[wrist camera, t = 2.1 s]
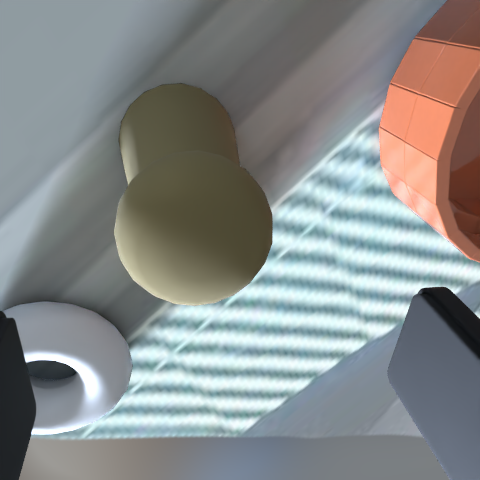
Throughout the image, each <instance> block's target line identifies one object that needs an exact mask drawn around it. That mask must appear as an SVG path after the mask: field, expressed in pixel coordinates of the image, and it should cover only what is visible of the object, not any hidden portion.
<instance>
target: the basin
mask: <svg viewBox="0 0 480 480" xmlns="http://www.w3.org/2000/svg"><path fill="white" fill-rule="evenodd" d="M379 139H380V159H381V166H382V169H383V171H384V173H385V176H386V178H387V180H388V183H389V185H390V187H391V190H392V192H393V194H394V195H395V196H396V197H397V198H398V199H399V200H400V201H402V202H403V203H404V204H405V205H406V206H407V207H408V208H409V209H410V210H411V211H412V212H413V213H415V214H416V215H417V216H418V217H419V218H421V219H422V220H423V221H424V222H425V223H427V224H428V225H429V226H430V227H431V228H433V229H434V230H435V231H436V232H438V233H439V234H440V235H441V236H442V237H443V238H445V239H446V240H447V241H448V242H449V243H451V244H452V245H453V246H454V247H455V248H457V249H458V250H459V251H460V252H461V253H463V254H464V255H465V256H466V257H467V258H469V259H471V260H474V261H478V262H480V0H447V1H446V2H445V3H444V4H443V6H442V7H441V8H440V9H439V10H438V11H437V12H436V13H435V15H434V16H433V17H432V18H431V19H430V20H429V21H428V22H427V24H426V25H425V26H424V27H423V28H422V29H421V30H420V31H419V33H418V34H417V35H416V36H415V38H414V39H413V40H412V42H411V44H410V46H409V48H408V50H407V52H406V53H405V55H404V57H403V59H402V61H401V63H400V65H399V67H398V68H397V70H396V72H395V74H394V76H393V78H392V80H391V84H390V85H389V89H388V93H387V97H386V101H385V105H384V109H383V113H382V117H381V121H380V127H379Z"/></svg>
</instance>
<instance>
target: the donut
mask: <svg viewBox="0 0 480 480" xmlns="http://www.w3.org/2000/svg"><path fill="white" fill-rule="evenodd" d="M2 312H4V313H5V315H6V318H14V319H15V322H16V325H17V329H18V333H19V337H20V341H21V345H22V349H23V353H24V357H25V361H26V363H29V362H31V361H37V360H53V361H58V362H61V363H65V364H67V365H69V366H71V367H72V368H74V369H75V370H76V372H77V373H76V374H75V375H73V376H71V377H68V378H65V379H59V380H50V379H42V378H38V377H34V376H32V375H30V374H29V377H30V381H31V385H32V389H33V393H34V397H35V401H36V418H35V422H34V426H33V430H32V433H31V434H55V433H61V432H66V431H72V430H75V429H78V428H80V427H83V426H85V425H88V424H90V423H93V422H95V421H97V420H98V419H100V418H101V417H102V416H104V415H105V414H106V413H108V412H109V411H111V410H112V409H113V408H114V407H115V405H116V404H117V403H118V401H119V400H120V399H121V397H122V396H123V395H124V393H125V392H126V390H127V389H128V385H129V381H130V376H131V372H132V367H133V365H132V359H131V355H130V351H129V347H128V343H127V342H126V340H125V339H124V338H123V336H122V335H121V334H120V332H119V331H118V330H117V328H116V327H115V326H114V325H113V324H112V323H111V322H109V321H108V320H106V319H105V318H103V317H102V316H100V315H99V314H97V313H96V312H94V311H91V310H88V309H85V308H82V307H79V306H76V305H73V304H68V303H58V302H47V301H43V302H36V303H28V304H21V305H17V306H14V307H12V308H9V309H7V310H5V311H2Z"/></svg>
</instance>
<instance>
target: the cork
mask: <svg viewBox="0 0 480 480" xmlns="http://www.w3.org/2000/svg"><path fill="white" fill-rule="evenodd" d="M119 145H120V151H121V156H122V161H123V165H124V169H125V174H126V178H127V182H128V187H127V189H126V190H125V192H124V194H123V195H122V197H121V199H120V201H119V204H118V210H117V216H116V222H115V229H114V235H115V240H116V244H117V249H118V254H119V257H120V259H121V262H122V264H123V265H124V267H125V268H126V270H127V271H128V273H129V274H130V276H131V277H132V279H133V280H134V281H135V282H136V283H138V284H139V285H140V286H142V287H143V288H144V289H145V290H147V291H148V292H149V293H151V294H152V295H154V296H155V297H158V298H161V299H163V300H166V301H168V302H171V303H174V304H182V305H192V306H196V305H203V304H210V303H216V302H218V301H220V300H223V299H225V298H228V297H230V296H233V295H234V294H236V293H237V292H239V291H240V290H241V289H243V288H244V287H245V286H247V285H248V284H249V283H250V282H251V281H252V279H253V278H254V277H255V276H256V274H257V273H258V272H259V270H260V269H261V268H262V266H263V265H264V263H265V262H266V259H267V256H268V253H269V251H270V248H271V245H272V212H271V210H270V207H269V204H268V201H267V198H266V196H265V193H264V192H263V190H262V188H261V187H260V186H259V184H258V183H257V182H256V181H255V180H254V178H253V177H252V176H251V175H250V174H249V172H248V171H247V170H246V169H244V168H243V167H241V166H240V162H239V156H238V150H237V143H236V137H235V131H234V128H233V125H232V122H231V120H230V117H229V114H228V113H227V111H226V110H225V109H224V107H223V106H222V105H221V104H220V102H219V101H218V100H217V99H216V98H215V97H213V96H212V95H210V94H208V93H207V92H205V91H204V90H202V89H201V88H197V87H194V86H190V85H186V84H182V83H180V84H165V85H160V86H158V87H155V88H153V89H151V90H148V91H146V92H144V93H143V94H142V95H141V96H140V97H138V98H137V99H136V100H135V101H134V102H133V103H132V104H131V105H130V106H129V108H128V110H127V112H126V114H125V116H124V117H123V119H122V121H121V127H120V133H119Z"/></svg>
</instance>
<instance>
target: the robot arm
mask: <svg viewBox="0 0 480 480" xmlns="http://www.w3.org/2000/svg"><path fill="white" fill-rule="evenodd" d="M388 379H389V382H390V384H391V385H392V387H393V389H394V390H395V392H396V394H397V395H398V397H399V398H400V400H401V402H402V403H403V405H404V406H405V408H406V410H407V411H408V413H409V415H410V416H411V418H412V419H413V421H414V423H415V424H416V426H417V427H418V429H419V431H420V432H421V434H422V436H423V437H424V439H425V440H426V442H427V443H428V445H429V447H430V448H431V450H432V452H433V453H434V455H435V456H436V458H437V460H438V461H439V463H440V464H441V466H442V468H443V469H444V471H445V473H446V474H447V476H448V477H449V479H450V480H480V319H479V318H478V317H477V316H476V315H475V314H474V313H473V312H472V311H471V310H470V309H469V308H468V307H467V306H466V305H465V304H464V303H463V302H462V301H461V300H460V299H459V298H458V297H457V296H456V295H455V294H454V293H453V292H452V291H451V290H449V289H448V288H446V287H432V288H422V289H421V290H420V291H419V292H418V294H416V295H415V296H414V297H413V299H412V301H411V304H410V307H409V310H408V313H407V316H406V318H405V321H404V324H403V327H402V330H401V333H400V336H399V338H398V341H397V344H396V347H395V350H394V353H393V356H392V358H391V361H390V364H389V367H388ZM35 418H36V401H35V397H34V393H33V389H32V385H31V381H30V377H29V373H28V369H27V365H26V361H25V357H24V353H23V349H22V345H21V341H20V337H19V333H18V329H17V325H16V322H15V319H14V318H6V315H5V313H4V312H2V311H0V480H19V476H20V473H21V469H22V466H23V462H24V458H25V455H26V451H27V447H28V444H29V440H30V437H31V433H32V430H33V426H34V422H35Z"/></svg>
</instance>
